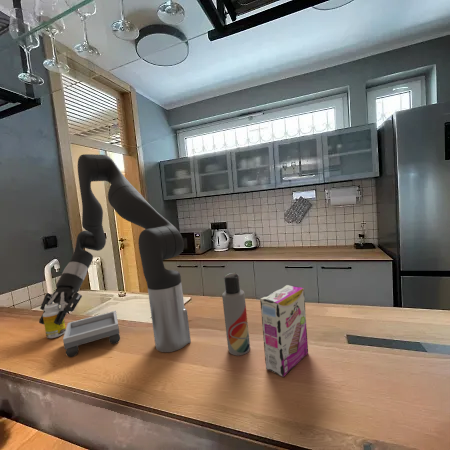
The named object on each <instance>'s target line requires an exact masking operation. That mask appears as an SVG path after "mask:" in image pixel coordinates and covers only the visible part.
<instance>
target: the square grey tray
mask: <svg viewBox="0 0 450 450" xmlns="http://www.w3.org/2000/svg"><path fill="white" fill-rule="evenodd" d="M119 327H120V326H119V322H118V314H117V311H116V310H113V311H109V312H106V313H102V314H97V315H93V316H90V317H85V318H82V319H78V320H74V321H71V322H67V325H66V327H65V328H66V331H65V333H64V334H63V338H62V340H63V348H64V350H66V351H65V356H66V357H68V358H73V357H76V356H77V354H79V353H78V352H79V348H80V347H79V346H81V345H84V344H87V343H91V342H94V341H98V340H100V339H104V338H108V341H109V343H110V344H111V345H115V344H118V343H119V342H120V340H121V334H120V328H119Z"/></svg>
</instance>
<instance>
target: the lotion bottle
mask: <svg viewBox="0 0 450 450" xmlns="http://www.w3.org/2000/svg"><path fill="white" fill-rule="evenodd" d="M223 280H224V292H223V293H222V294H221V296H222V298H221V299H222V306H223V314H224V325H225V332H226V333H225V335H226V342H227V349H228V350H227V351H228V352H229V354H231V355H233V356H243V355H246V354H248V353H249V352H250V349H251V344H250V343H251V341H250V335H249V325H248V314H247V306H246V296H245V295H246V294H245V291H244V290H243V289H241V285H240V284H241V283H240V276H239V274H238V273H237V272H229V273H227V274H226V275H225V276H223Z"/></svg>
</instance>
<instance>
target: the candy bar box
mask: <svg viewBox="0 0 450 450" xmlns="http://www.w3.org/2000/svg"><path fill="white" fill-rule="evenodd" d="M259 300H260V313H261V324H262V325H261V326H262V335H263V337H262V338H263V347H264V348H263V350H264V360H265V361H264V363H265V369H266V370H268V371H270V372H272V373H274V374H276V375H277V376H280V377H283V378H285V376H286V375H287V374H288V373H289V372H290V371H291V370H292V369H293V368H294V367H296V365H297V364H298V363H299V362H301V361H302V360H303V358H304V357H306V356H307V354H309V345H308V332H307V331H308V330H307V329H308V328H307V318H306V317H307V316H306V315H307V314H306V301H305V300H306V299H305V288H304V287H299V286H295V285H289V284H286V285H285V286H283V287H281V288H278V289H277V290H275V291H274V292H271V293H269V294H267V295H265V296H263V297H261V298H260V299H259Z"/></svg>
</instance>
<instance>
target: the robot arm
mask: <svg viewBox="0 0 450 450" xmlns="http://www.w3.org/2000/svg"><path fill="white" fill-rule="evenodd" d="M77 177H78V182H79V191H80V197H81V198H80V200H81V206H82V213H81V214H82V216H81V217H82V218H81V223H82V225H81V226H82V228H83V230H82V231H80V232H79V233H78V235H77V236H76V241H75V248H74V251H73V254H72V255H71V258H70V260H69V262H68V263H67V265H66V266H65V267H64V269H63V271H62V273H61V275H60V276H59V279H58V281H57V283H56V285H55V287H56V289H55V291H54V292H53V293H49V292H47V293H46V294H45V295H44V298H43V301H42V302H41V305H40V307H39V308H40V310H42V311H43V312H42V315H40V318H39V320H38V322H39V324H41V325H44V320H43V313H44V312H45V308H44V307H45V306H47V305H50V304H53V303H58V304H59V306H60V308H61V309H60V311H59V313H58V315H57V317H56V319H55V321H54V323H55V324H57V325H60V324H61V323H62V322H63V319H64V320H65V317H66V315H67V314H68V313H69V312H71V313H73V312H74V311H75V309H76V308H77V306H78V304H79V302H80V301H81V299H82V297H83V295H82V294H81V293H79V291H80V290H81V289H80V288H81V287H82V285H83V282H84V281H85V279H86V276H87V274H88V270H89V268H90V266H91V264H92V262H93V259H94V255H93V254H92V253H91V252H89V251H87V250H92V251H97V252H100V251H101V250H103V249H104V248H105V246H106V242H107V241H106V240H107V238H106V233H105V231H104V230H105V229H104V228H103V221H104V220H103V216H104V211H103V207H102V204H101V202H99V200H98V198H96V196H95V194H94V193H93V191H92V187H91V186H92V182H108V183H109V184H110V185H109V188H108V193H107V200H108V202H109V204H110V206H111V207H112V208H113V210H114V211H115V212H116V213H117V215H118V216H120V217H121V218H122V219H124V220H125V221H127V222H129V223H132V224H134V225H136V226H138V227H141V228H143V229H144V230H142V231H141V232H140V233H139V235H138V251H139V256H140V260H141V266H142V272H143V275H144V279H145V282H146V285H147V293H148V301H149V307H150V308H149V310H150V316H151V322H152V330H153V338H154V344H155V345H154V346H155V349H156V351H159V352H161V353H171V352H176V351H178V350H180V349H183V348H184V347H185V346H186V345H187V344H191V340H192V339H191V332H190V324H189V316H188V310H187V308H186V307H185V301H184V300H185V299H184V294H183V284H182V276H181V273H180V271H178V270H176V269H166V267H165V263H164V261H165V260H169V259H173V258H176V257H178V256H179V255H180V254H182V252H183V251H184V248H185V247H184V246H185V244H184V240H183V236H182V234H181V232H180V231H179V230H178V229H177V227H176V226H174V225H173V224H172V223H171V222H170V221H169V220H168V219H166V218H165V217H164V216H163V215H162V214H160V213H159V212H158V211H157V210H156V209H155V208H154V207H153V206H152V205H151V204H150V203H149V202H148V201H147V200H146V198H145V197H144V196H143V194H141V193H140V192H139V191H138V189H137V188H136V187H135V186H133V184H131V182H130V181H129V180H128V179H127V177H125V175H124V174H123V173H122V171H121V170H120V168H119V167H118V166H117V164H116V163H115V161H114V159H113V158H111V157H110V156H109V155H106V154H91V153H89V154H87V153H86V154H85V153H84V154H81V155H79V157H78V159H77ZM85 249H87V250H85Z"/></svg>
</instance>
